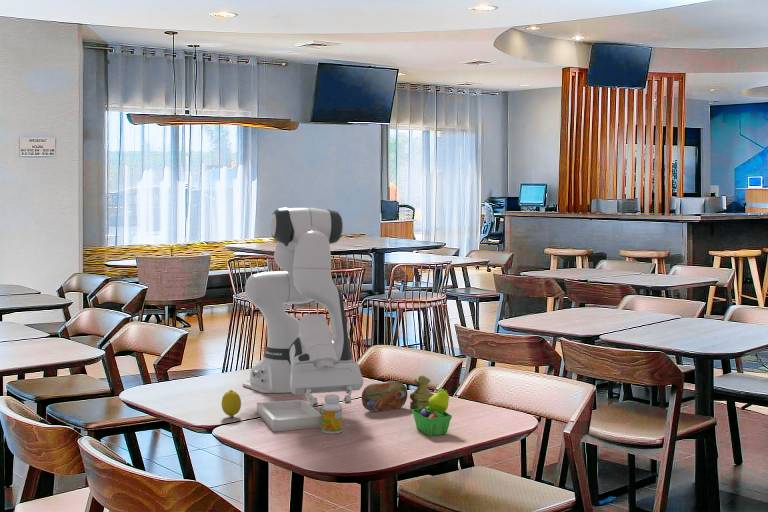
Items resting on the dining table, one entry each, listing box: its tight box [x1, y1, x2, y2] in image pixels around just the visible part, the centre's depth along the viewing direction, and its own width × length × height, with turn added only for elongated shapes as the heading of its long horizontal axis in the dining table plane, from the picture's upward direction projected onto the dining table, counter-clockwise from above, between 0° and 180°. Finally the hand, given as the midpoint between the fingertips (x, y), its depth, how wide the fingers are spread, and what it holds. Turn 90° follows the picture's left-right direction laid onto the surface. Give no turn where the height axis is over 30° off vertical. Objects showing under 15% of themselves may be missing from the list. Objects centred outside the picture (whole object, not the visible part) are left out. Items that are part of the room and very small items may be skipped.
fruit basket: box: [411, 388, 453, 437], centre depth 249 cm, size 11×9×11 cm
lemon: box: [221, 389, 242, 418], centre depth 264 cm, size 6×6×8 cm
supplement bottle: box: [321, 394, 343, 435], centre depth 248 cm, size 5×5×10 cm
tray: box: [256, 398, 322, 432], centre depth 261 cm, size 22×14×3 cm, turn 19°
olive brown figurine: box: [409, 375, 435, 411], centre depth 274 cm, size 7×7×10 cm
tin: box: [361, 380, 408, 413], centre depth 273 cm, size 15×3×8 cm, turn 122°
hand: (331, 403), depth 248 cm, fingers open, 8 cm apart
